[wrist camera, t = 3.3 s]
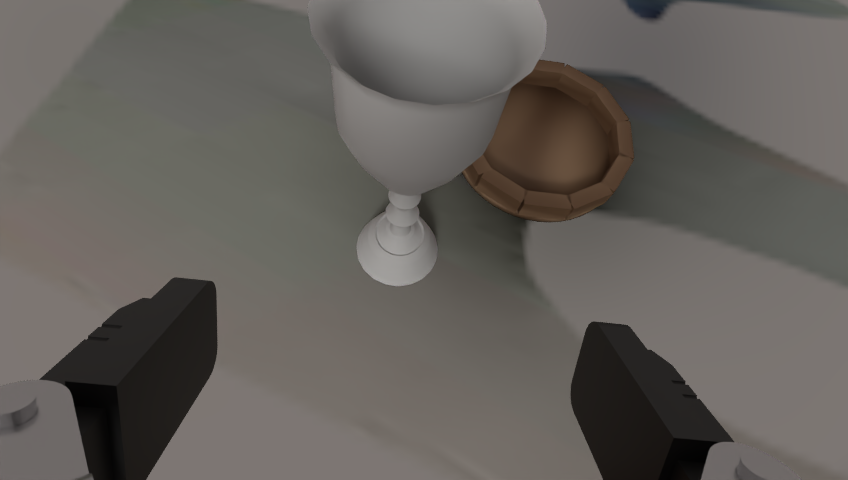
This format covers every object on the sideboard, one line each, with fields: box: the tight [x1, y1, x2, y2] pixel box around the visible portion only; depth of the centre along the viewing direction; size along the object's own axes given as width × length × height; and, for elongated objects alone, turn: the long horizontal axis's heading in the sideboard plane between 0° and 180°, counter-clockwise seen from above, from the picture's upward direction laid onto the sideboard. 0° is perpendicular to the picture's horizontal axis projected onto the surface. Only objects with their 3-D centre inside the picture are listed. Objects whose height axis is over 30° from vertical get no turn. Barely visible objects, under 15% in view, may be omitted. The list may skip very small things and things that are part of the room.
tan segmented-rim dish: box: [462, 60, 634, 222], centre depth 35 cm, size 12×12×2 cm
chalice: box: [307, 0, 547, 286], centre depth 24 cm, size 7×7×18 cm
